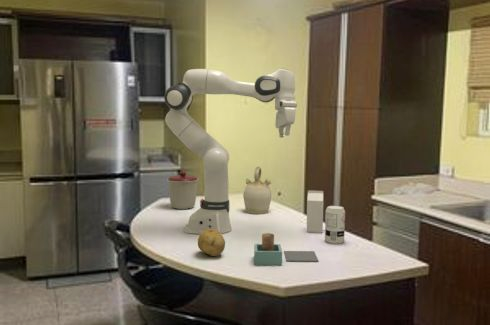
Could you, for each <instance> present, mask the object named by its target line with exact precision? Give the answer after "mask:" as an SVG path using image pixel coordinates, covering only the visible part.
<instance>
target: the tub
mask: <svg viewBox="0 0 490 325" xmlns="http://www.w3.org/2000/svg"><path fill="white" fill-rule="evenodd" d="M253 250H254V252H253V262H254V266H282V265H283V250H282V246H281V243H274V251H262V243H254V245H253Z"/></svg>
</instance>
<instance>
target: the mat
mask: <svg viewBox="0 0 490 325" xmlns="http://www.w3.org/2000/svg"><path fill="white" fill-rule="evenodd" d="M283 254H284V256H285V257H284V258H285V260H286V261H285V262H287V263H293V262H295V263H319V259H318V256H317V255H316V252H315V251H314V250H284V251H283Z"/></svg>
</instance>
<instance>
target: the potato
mask: <svg viewBox="0 0 490 325" xmlns="http://www.w3.org/2000/svg"><path fill="white" fill-rule="evenodd" d="M197 246H198V249H199V250H200V251H201V252H202V253H205V254H207V255H209V256H212V257H217V256H220V255H221V254H223V251H224V250H225V248H226V240H225V238H224V236H223V233H220V232H218V231H216V230H213V229H209V230H205V231H204V232H202V233H201V234H199V235H198V239H197Z"/></svg>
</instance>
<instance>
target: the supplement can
mask: <svg viewBox="0 0 490 325" xmlns="http://www.w3.org/2000/svg"><path fill="white" fill-rule="evenodd" d="M345 221H346V210H345V209H344V207H343V206H341V205H329V206H327V207H326V209H325V221H324V223H325V224H324V241H326V243H329V244H332V245H333V244H335V245H337V244H343V242H344V241H345V229H346V228H345V226H346V225H345V224H346V222H345Z"/></svg>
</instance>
